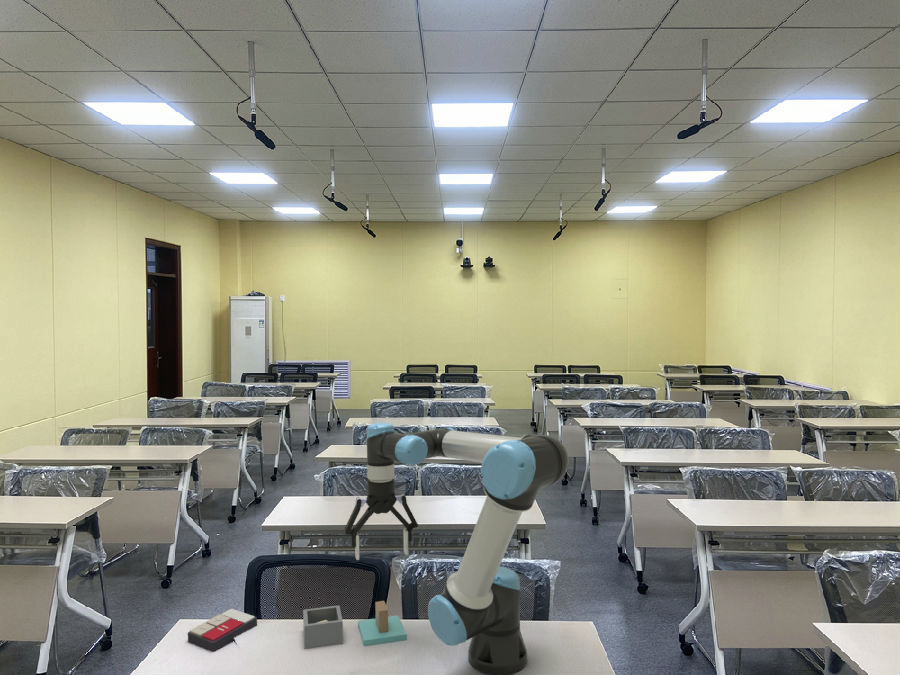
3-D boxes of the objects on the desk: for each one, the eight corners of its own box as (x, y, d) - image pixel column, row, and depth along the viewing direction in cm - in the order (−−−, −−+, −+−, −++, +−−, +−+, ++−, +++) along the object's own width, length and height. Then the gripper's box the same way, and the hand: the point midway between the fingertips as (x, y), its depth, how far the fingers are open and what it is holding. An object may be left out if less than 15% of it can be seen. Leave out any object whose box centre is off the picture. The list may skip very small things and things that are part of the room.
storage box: (342, 647, 162) (342, 621, 162) (304, 652, 159) (304, 626, 159) (339, 629, 172) (339, 605, 172) (303, 634, 169) (303, 609, 169)
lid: (406, 643, 164) (406, 612, 164) (363, 649, 161) (363, 618, 161) (398, 623, 175) (398, 594, 175) (358, 629, 172) (358, 599, 172)
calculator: (186, 630, 165) (231, 605, 178) (187, 645, 166) (232, 620, 178) (212, 640, 160) (257, 614, 173) (213, 656, 160) (258, 629, 173)
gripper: (421, 473, 174) (422, 546, 174) (334, 479, 168) (335, 555, 168) (427, 478, 167) (428, 555, 167) (336, 485, 161) (337, 565, 161)
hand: (381, 555), depth 167 cm, fingers open, 13 cm apart
